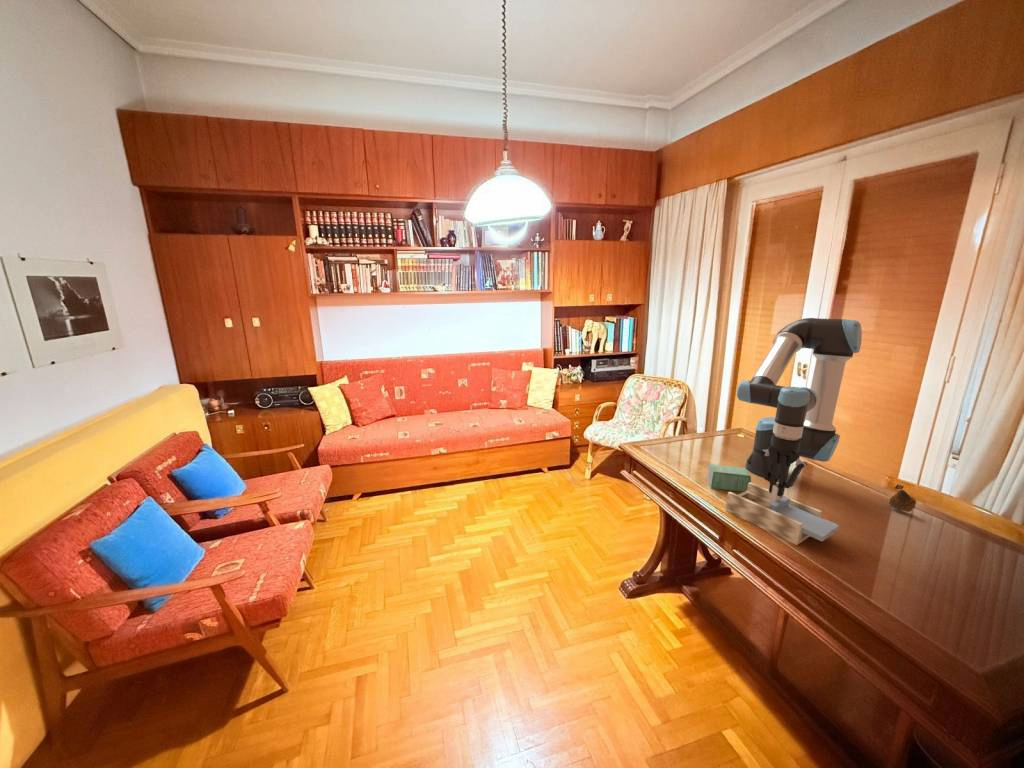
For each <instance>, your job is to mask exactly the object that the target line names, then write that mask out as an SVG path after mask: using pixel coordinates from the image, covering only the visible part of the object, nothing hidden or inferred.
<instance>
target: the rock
mask: <svg viewBox="0 0 1024 768" xmlns="http://www.w3.org/2000/svg"><path fill="white" fill-rule="evenodd" d="M904 487H905V485H902V484H896V486H895V487H894V490H897V491H898V490H899V491H898V492H897V493H895V494H894V495H892V496H891V498H890V499H889V502H888V504H889V505H890V507H892V508H893V509H896V511H903V512H909V513H910V512H913V510H914V509H915V508H916V503H917V501H916V500H915V498H913V497H912V496H911V495H910V494H908V493H907V492H906V491H905V490H904Z"/></svg>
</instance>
